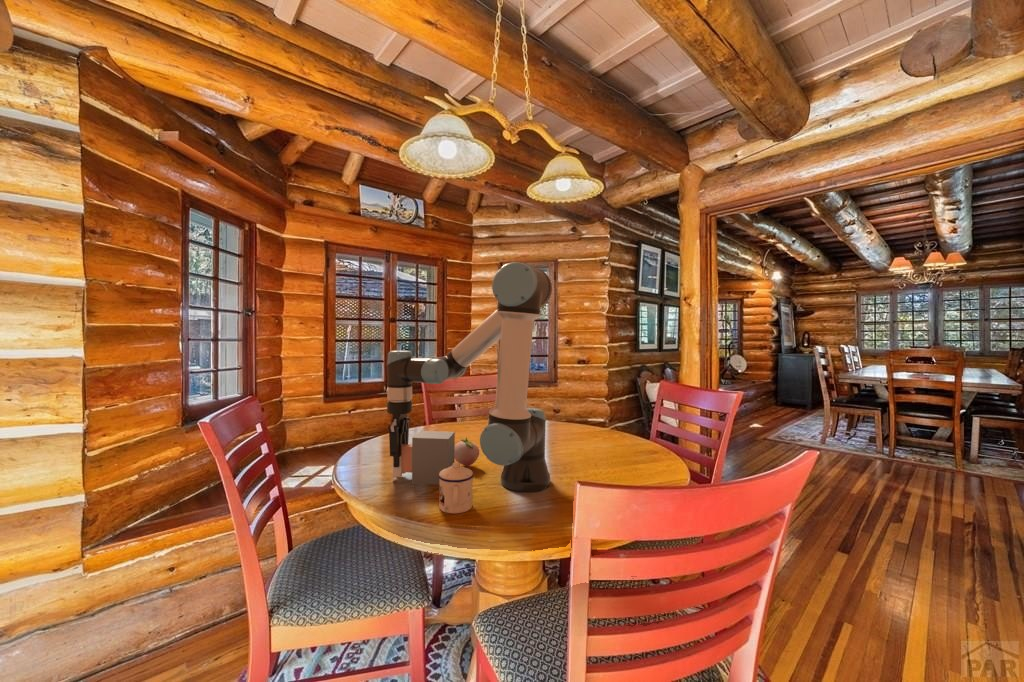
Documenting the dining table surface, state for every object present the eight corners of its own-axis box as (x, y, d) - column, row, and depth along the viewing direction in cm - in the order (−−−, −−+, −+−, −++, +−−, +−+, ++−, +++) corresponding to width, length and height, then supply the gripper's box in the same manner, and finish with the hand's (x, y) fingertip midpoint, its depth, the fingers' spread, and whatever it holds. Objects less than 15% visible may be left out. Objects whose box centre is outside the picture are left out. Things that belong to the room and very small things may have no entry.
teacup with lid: (439, 500, 113) (439, 458, 113) (472, 499, 114) (473, 457, 114) (436, 520, 101) (436, 473, 101) (473, 519, 102) (474, 472, 102)
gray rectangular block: (454, 474, 133) (454, 431, 133) (447, 485, 124) (448, 438, 124) (420, 473, 134) (420, 430, 134) (411, 483, 125) (411, 437, 125)
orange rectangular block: (447, 471, 130) (447, 445, 130) (445, 473, 127) (445, 448, 127) (395, 469, 131) (396, 444, 131) (393, 471, 129) (393, 446, 128)
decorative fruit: (447, 465, 142) (448, 436, 142) (468, 461, 147) (468, 433, 147) (462, 473, 135) (462, 442, 134) (483, 468, 140) (483, 438, 140)
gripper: (396, 395, 137) (396, 466, 138) (378, 404, 122) (377, 483, 122) (418, 396, 137) (418, 467, 137) (403, 404, 121) (402, 484, 122)
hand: (399, 474), depth 130 cm, fingers closed on orange rectangular block, 2 cm apart
